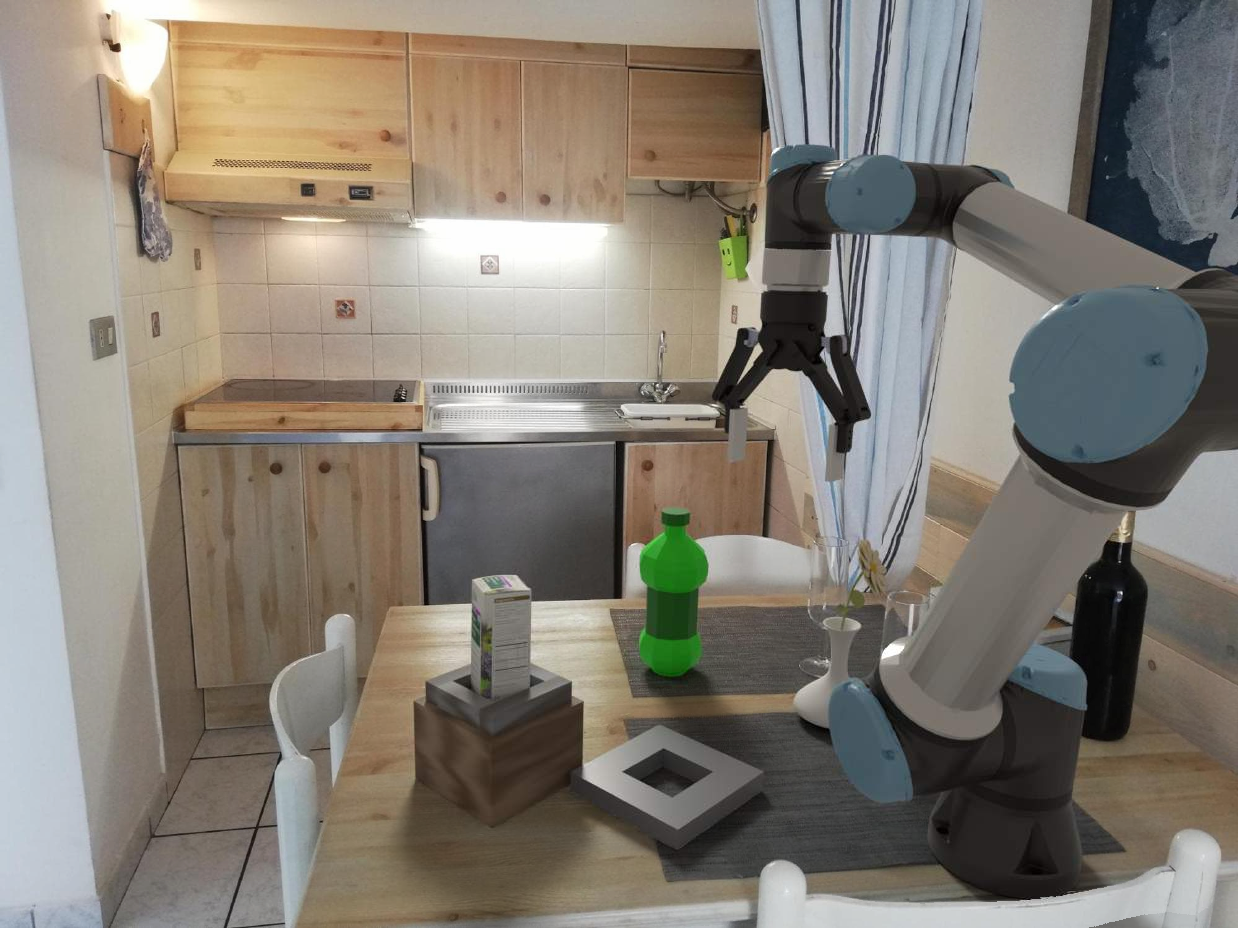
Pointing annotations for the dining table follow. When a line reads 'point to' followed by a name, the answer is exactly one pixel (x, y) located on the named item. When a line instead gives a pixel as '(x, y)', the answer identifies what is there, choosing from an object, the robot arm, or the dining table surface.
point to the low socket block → (653, 811)
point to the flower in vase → (841, 641)
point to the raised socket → (497, 743)
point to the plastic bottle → (672, 596)
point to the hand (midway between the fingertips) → (783, 470)
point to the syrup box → (500, 636)
